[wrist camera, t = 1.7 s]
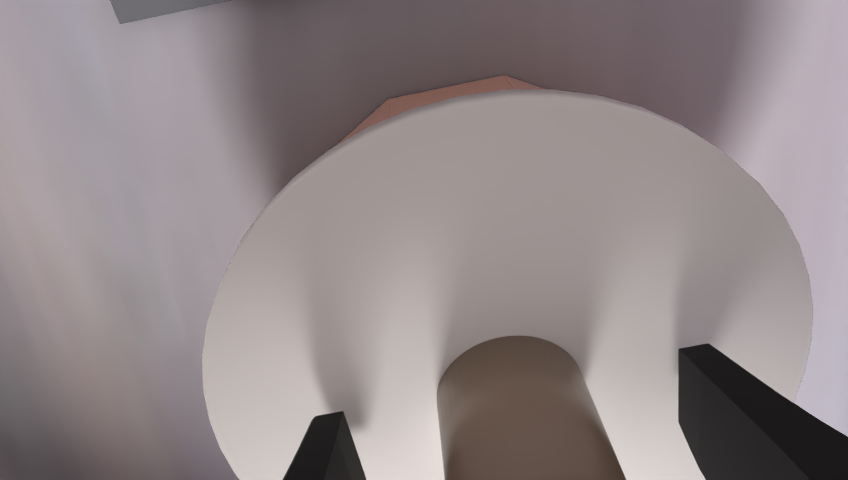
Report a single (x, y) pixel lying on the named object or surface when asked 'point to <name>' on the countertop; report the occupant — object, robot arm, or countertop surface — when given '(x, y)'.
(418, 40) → the countertop surface
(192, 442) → the countertop surface
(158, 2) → the mat
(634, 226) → the lid
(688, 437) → the robot arm
